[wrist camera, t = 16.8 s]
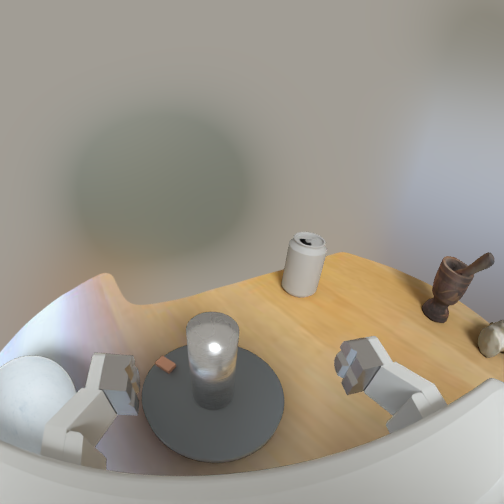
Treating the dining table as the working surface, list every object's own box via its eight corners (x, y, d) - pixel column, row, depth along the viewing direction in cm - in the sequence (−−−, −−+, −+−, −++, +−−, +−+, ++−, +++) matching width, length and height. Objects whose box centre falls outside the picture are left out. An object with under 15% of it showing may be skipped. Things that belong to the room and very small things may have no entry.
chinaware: (54, 371, 31) (34, 338, 27) (121, 429, 27) (102, 401, 23) (-3, 425, 19) (-32, 396, 15) (57, 500, 15) (23, 484, 11)
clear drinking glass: (219, 417, 28) (220, 358, 22) (184, 397, 30) (175, 333, 24) (239, 389, 32) (248, 324, 26) (207, 371, 34) (206, 305, 28)
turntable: (301, 383, 36) (305, 372, 35) (239, 488, 22) (240, 484, 20) (196, 333, 43) (196, 322, 41) (118, 408, 28) (112, 399, 27)
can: (273, 283, 59) (282, 232, 53) (300, 275, 63) (311, 227, 57) (295, 304, 54) (308, 250, 48) (322, 293, 57) (336, 243, 51)
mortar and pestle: (461, 322, 50) (499, 250, 40) (451, 338, 46) (495, 259, 36) (428, 298, 58) (459, 226, 48) (414, 311, 54) (449, 231, 44)
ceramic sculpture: (484, 308, 41) (508, 304, 44) (464, 338, 45) (491, 330, 48) (511, 341, 32) (531, 331, 35) (487, 371, 36) (511, 357, 39)
